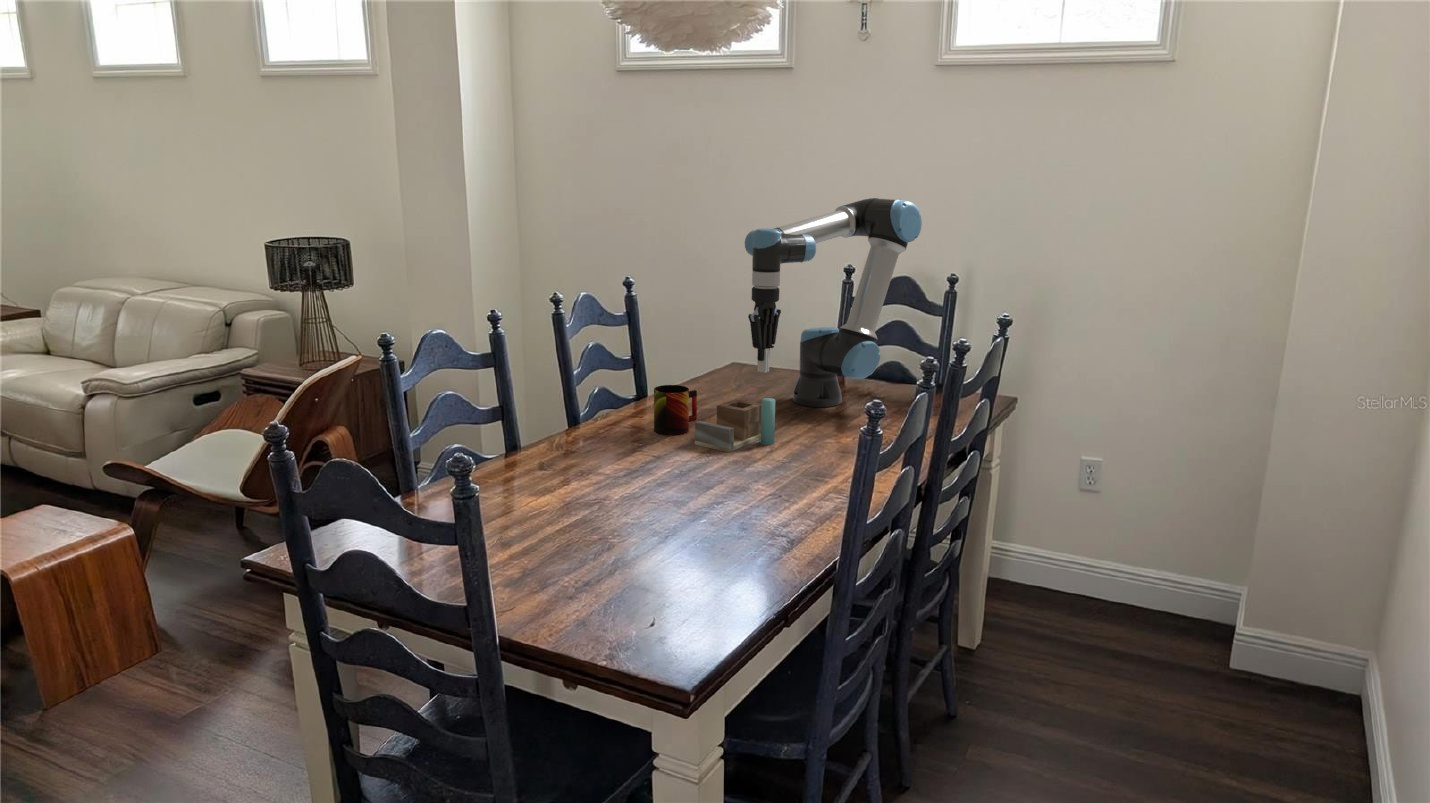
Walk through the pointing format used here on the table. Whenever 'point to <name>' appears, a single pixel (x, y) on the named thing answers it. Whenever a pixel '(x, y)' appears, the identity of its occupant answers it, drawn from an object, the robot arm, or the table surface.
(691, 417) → the mug
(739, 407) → the block
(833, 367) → the robot arm
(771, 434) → the dowel
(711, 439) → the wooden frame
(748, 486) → the table surface
